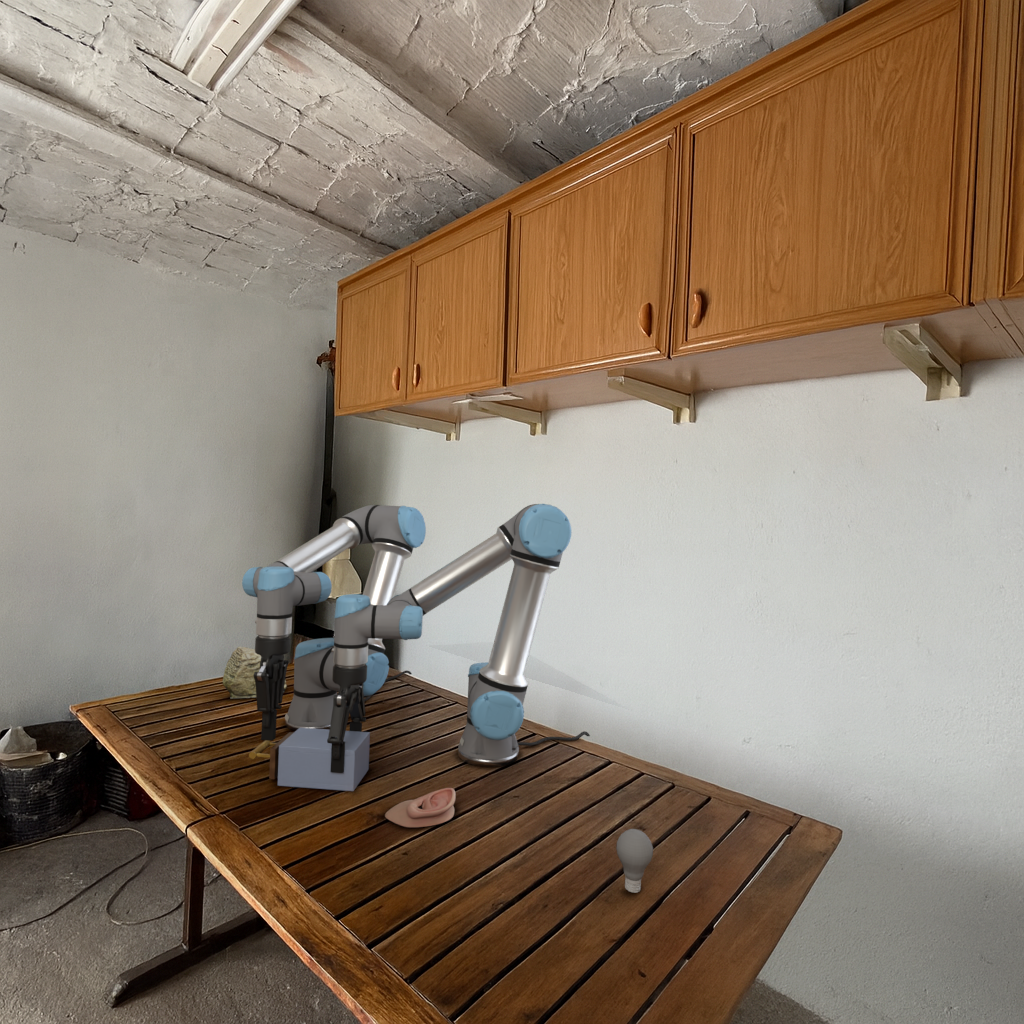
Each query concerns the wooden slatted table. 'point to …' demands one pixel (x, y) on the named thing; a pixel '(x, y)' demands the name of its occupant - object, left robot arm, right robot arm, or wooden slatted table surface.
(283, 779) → the cabinet
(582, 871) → the wooden slatted table surface
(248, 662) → the fossil
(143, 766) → the wooden slatted table surface
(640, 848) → the light bulb
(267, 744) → the drawer
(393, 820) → the anatomical model
